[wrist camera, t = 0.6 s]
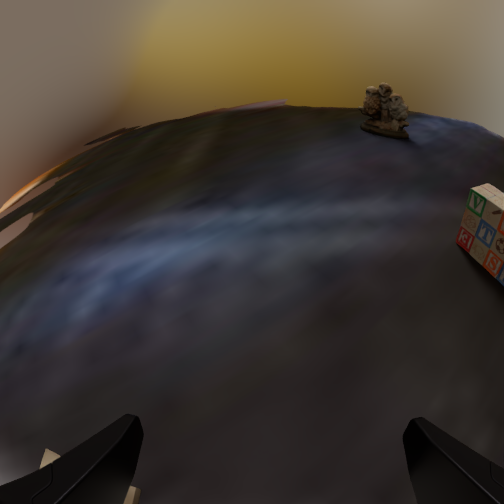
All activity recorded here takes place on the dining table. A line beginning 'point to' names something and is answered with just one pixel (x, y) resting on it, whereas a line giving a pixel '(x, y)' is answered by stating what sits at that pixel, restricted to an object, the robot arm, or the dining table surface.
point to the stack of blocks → (484, 229)
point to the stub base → (133, 492)
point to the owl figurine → (384, 112)
